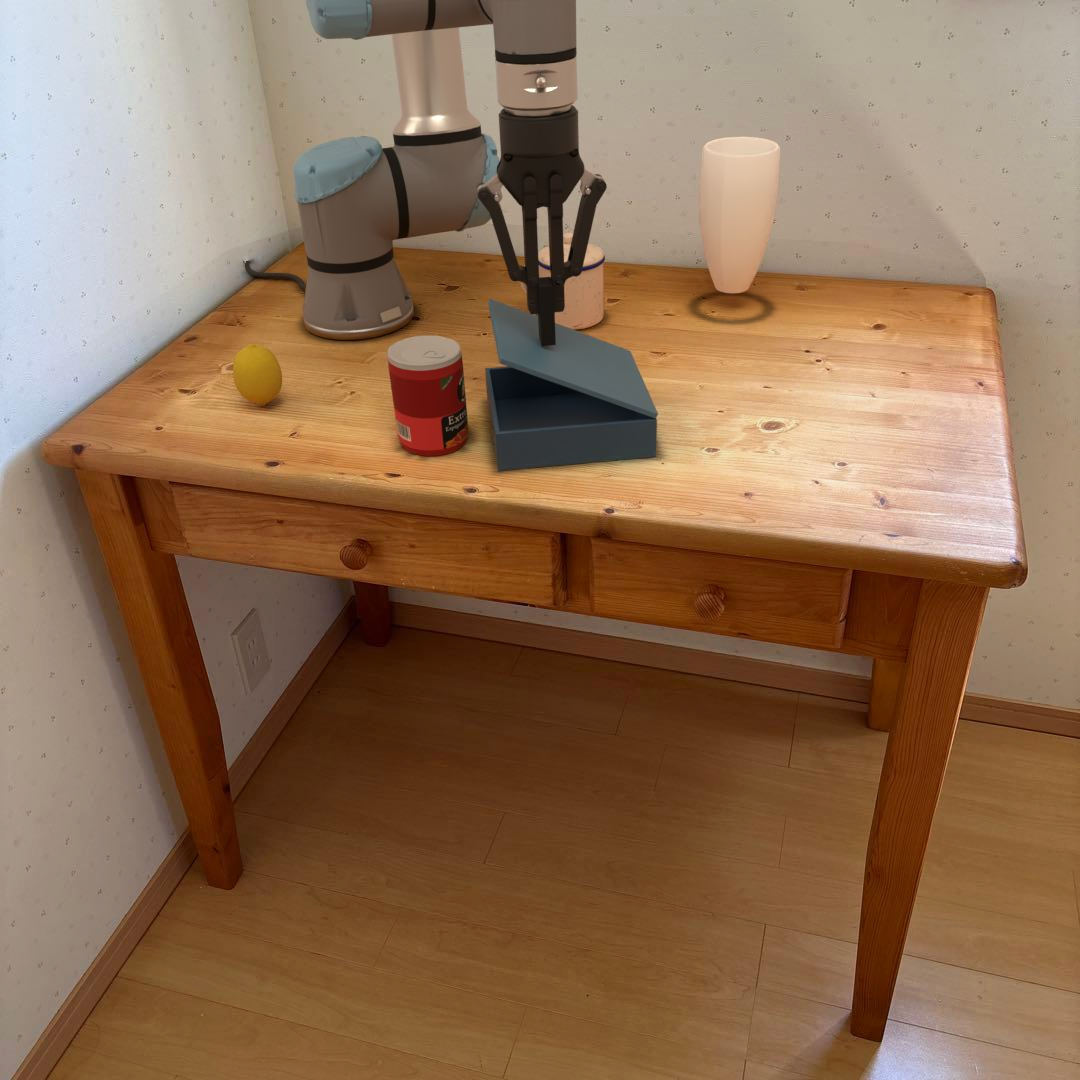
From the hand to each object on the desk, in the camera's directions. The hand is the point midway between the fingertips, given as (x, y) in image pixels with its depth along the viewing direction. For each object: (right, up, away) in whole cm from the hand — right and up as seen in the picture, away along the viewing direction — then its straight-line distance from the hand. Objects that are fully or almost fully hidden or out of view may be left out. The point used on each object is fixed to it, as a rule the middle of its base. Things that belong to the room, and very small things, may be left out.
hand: (547, 340), depth 112 cm
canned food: (-13, -10, +5) cm, 17 cm away
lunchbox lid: (+2, -2, +2) cm, 3 cm away
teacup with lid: (+2, +9, +33) cm, 34 cm away
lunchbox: (+2, -9, +6) cm, 11 cm away
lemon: (-34, -5, +14) cm, 37 cm away
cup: (+26, +11, +33) cm, 43 cm away
